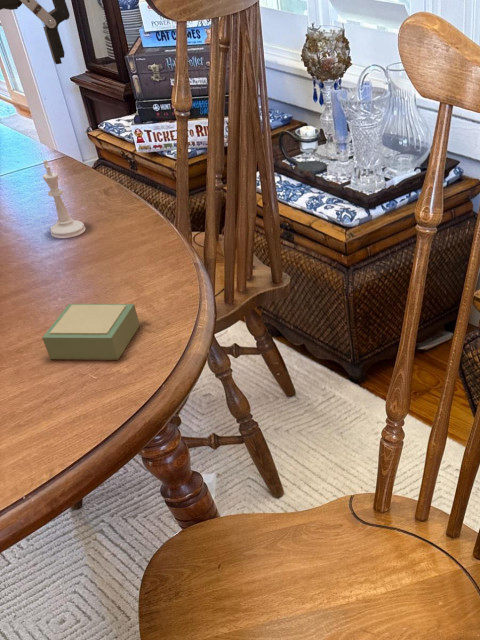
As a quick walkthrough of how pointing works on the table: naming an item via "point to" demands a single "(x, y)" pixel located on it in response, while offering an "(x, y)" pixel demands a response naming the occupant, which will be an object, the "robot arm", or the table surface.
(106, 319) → the green square box
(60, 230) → the chess piece
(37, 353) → the table surface
